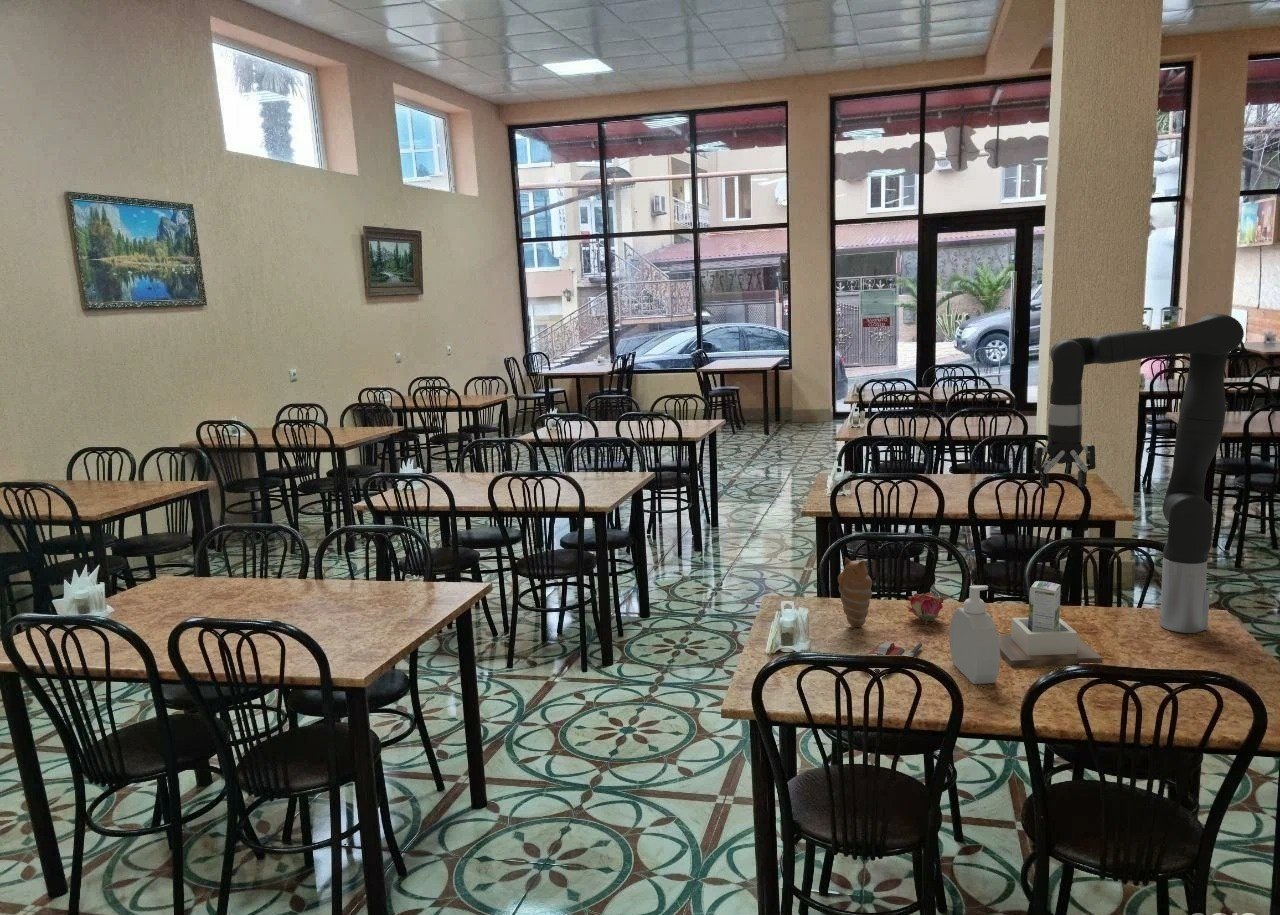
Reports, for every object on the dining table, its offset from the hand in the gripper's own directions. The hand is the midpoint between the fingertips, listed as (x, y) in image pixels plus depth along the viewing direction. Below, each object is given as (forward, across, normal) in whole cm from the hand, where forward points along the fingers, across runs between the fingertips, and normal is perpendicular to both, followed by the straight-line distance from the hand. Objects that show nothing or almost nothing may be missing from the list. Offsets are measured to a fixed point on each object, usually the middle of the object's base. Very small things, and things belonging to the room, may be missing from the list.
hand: (1063, 487), depth 231 cm
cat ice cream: (+34, -51, -1) cm, 61 cm away
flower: (+34, -33, +2) cm, 48 cm away
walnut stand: (+34, -12, -21) cm, 42 cm away
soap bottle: (+34, -31, -32) cm, 56 cm away
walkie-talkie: (+35, -47, -23) cm, 63 cm away
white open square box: (+33, -12, -21) cm, 41 cm away
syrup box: (+33, -12, -21) cm, 41 cm away
